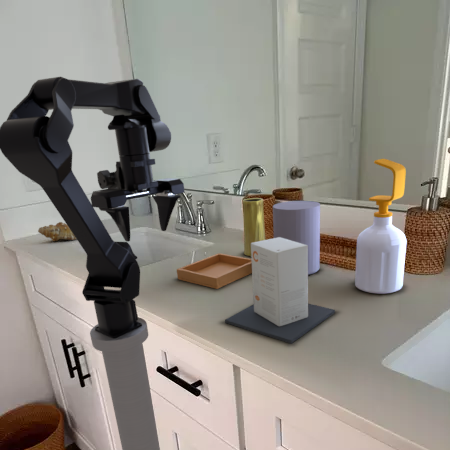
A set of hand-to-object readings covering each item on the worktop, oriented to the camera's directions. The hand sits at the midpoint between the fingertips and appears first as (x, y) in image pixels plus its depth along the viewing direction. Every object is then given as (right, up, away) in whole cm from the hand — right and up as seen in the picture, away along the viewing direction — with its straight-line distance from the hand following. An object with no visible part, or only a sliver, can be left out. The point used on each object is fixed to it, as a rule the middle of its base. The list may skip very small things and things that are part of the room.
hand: (146, 235), depth 86 cm
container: (+33, -6, +14) cm, 36 cm away
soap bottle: (+47, -10, 0) cm, 48 cm away
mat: (+26, -16, -10) cm, 32 cm away
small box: (+26, -16, -10) cm, 32 cm away
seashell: (-41, +7, +60) cm, 73 cm away
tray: (+14, -7, +15) cm, 22 cm away
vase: (+24, -1, +29) cm, 37 cm away
